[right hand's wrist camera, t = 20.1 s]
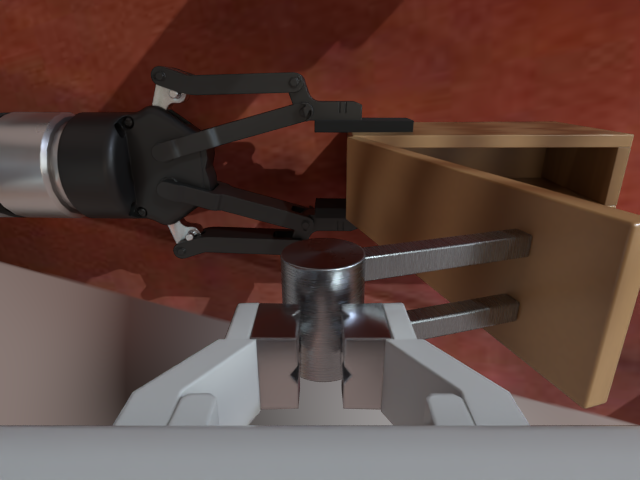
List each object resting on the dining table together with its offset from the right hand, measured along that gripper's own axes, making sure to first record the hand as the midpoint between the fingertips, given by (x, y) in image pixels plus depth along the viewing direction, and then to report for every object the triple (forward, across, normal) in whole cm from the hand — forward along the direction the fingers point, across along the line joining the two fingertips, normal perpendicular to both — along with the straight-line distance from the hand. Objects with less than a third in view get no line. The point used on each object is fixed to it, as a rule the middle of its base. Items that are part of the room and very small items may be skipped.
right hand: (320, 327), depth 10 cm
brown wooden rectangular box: (+27, -11, 0) cm, 29 cm away
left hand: (+21, -6, 0) cm, 22 cm away
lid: (+9, -5, 0) cm, 10 cm away
